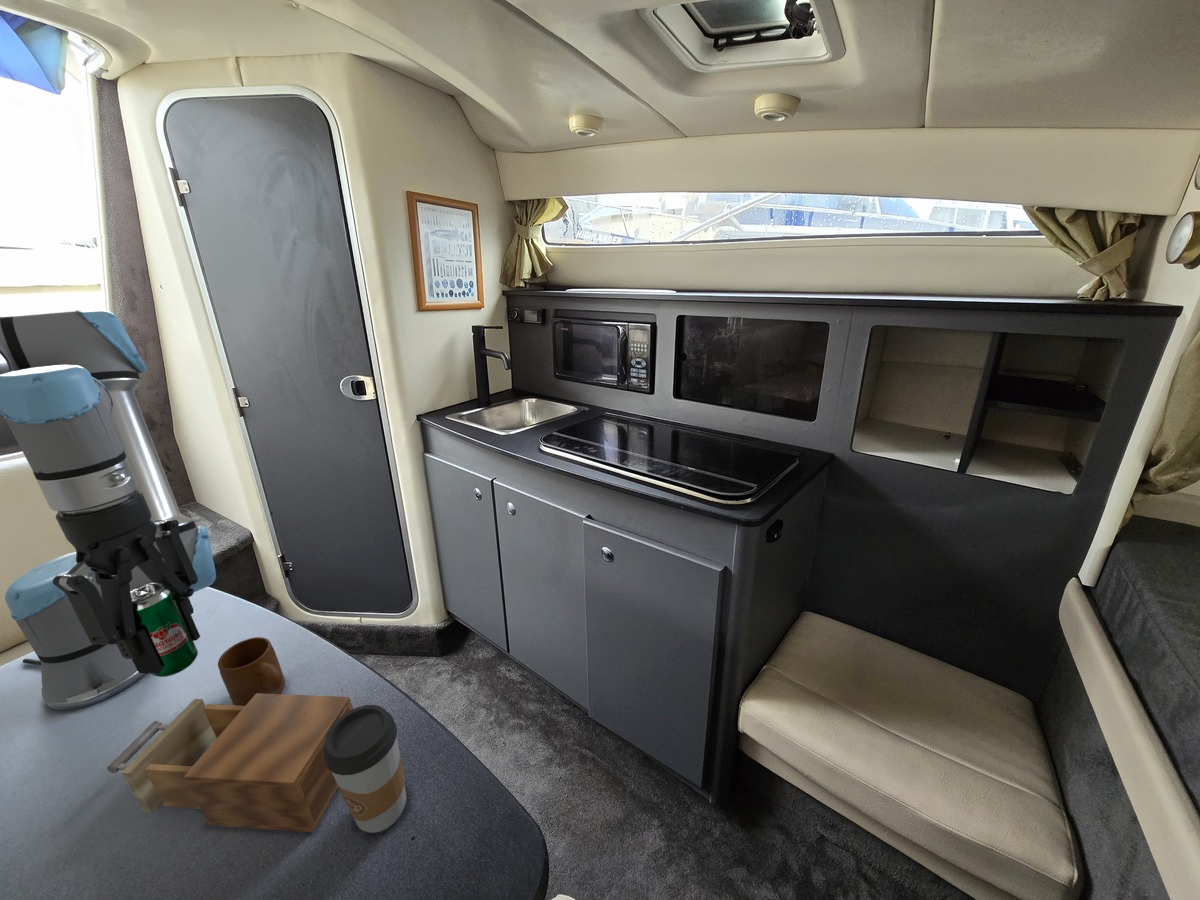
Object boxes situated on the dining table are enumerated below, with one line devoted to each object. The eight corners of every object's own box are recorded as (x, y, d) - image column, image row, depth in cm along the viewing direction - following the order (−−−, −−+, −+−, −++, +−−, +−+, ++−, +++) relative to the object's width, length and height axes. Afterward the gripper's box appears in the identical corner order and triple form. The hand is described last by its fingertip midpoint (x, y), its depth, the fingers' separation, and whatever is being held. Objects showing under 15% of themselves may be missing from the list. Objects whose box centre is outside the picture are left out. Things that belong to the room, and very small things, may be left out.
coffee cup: (333, 829, 64) (303, 748, 59) (381, 770, 71) (358, 693, 66) (383, 854, 61) (356, 772, 56) (427, 790, 68) (408, 712, 63)
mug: (312, 695, 84) (297, 652, 81) (267, 731, 78) (249, 686, 75) (270, 671, 90) (254, 630, 86) (225, 703, 83) (206, 661, 80)
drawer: (105, 810, 67) (80, 770, 64) (178, 733, 77) (160, 696, 74) (237, 818, 65) (218, 778, 62) (293, 739, 76) (279, 701, 73)
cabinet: (208, 825, 65) (183, 776, 62) (274, 738, 77) (256, 693, 73) (313, 832, 64) (293, 782, 60) (363, 743, 76) (349, 696, 72)
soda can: (155, 686, 64) (117, 611, 59) (149, 666, 67) (113, 594, 62) (203, 663, 67) (171, 590, 62) (195, 645, 70) (164, 575, 66)
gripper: (40, 542, 49) (132, 713, 57) (193, 468, 66) (246, 609, 74) (-27, 542, 49) (73, 711, 58) (142, 468, 66) (200, 608, 75)
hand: (170, 653), depth 66 cm, fingers closed on soda can, 5 cm apart
